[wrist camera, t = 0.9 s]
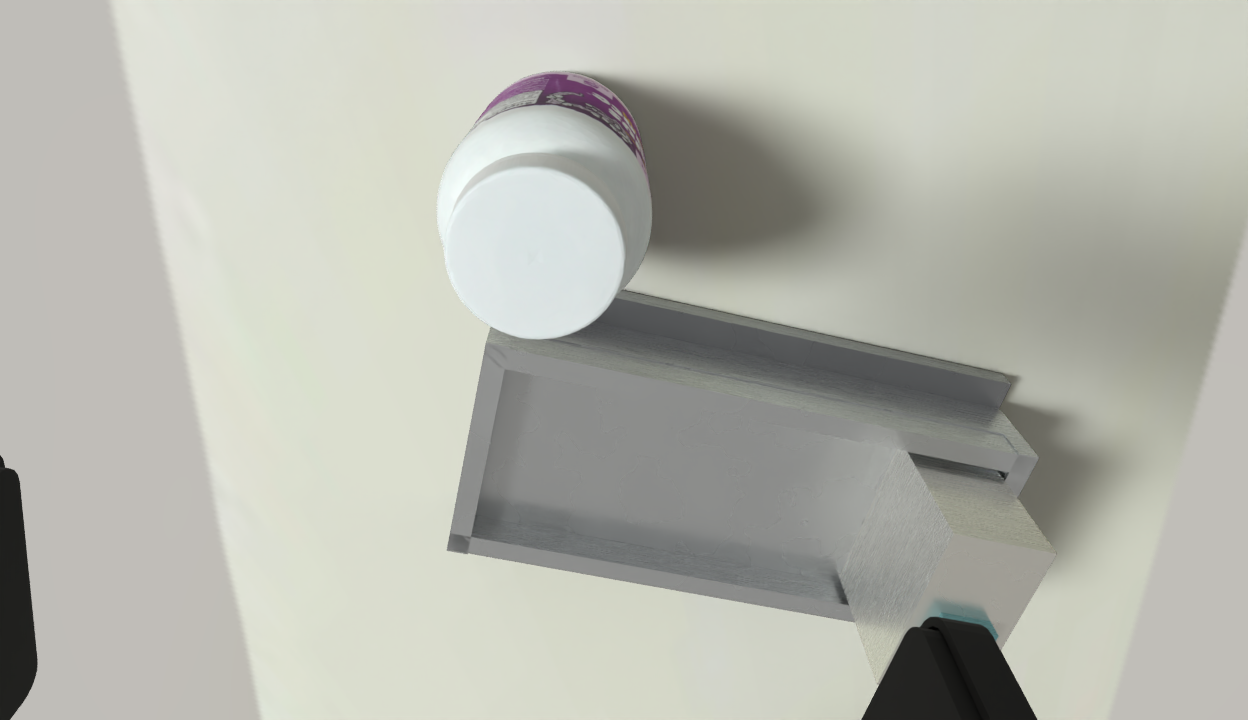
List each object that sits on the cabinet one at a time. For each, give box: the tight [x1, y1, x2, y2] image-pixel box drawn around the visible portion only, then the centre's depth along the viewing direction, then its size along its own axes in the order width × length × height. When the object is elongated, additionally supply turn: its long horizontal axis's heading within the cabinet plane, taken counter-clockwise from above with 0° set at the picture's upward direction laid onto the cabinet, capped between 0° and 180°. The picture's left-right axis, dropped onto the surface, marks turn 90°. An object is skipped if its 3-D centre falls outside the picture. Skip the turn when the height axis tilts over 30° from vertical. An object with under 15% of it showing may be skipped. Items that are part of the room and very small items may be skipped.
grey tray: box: [447, 290, 1057, 684], centre depth 28 cm, size 10×18×8 cm, turn 76°
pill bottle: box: [437, 71, 652, 340], centre depth 23 cm, size 5×5×10 cm
